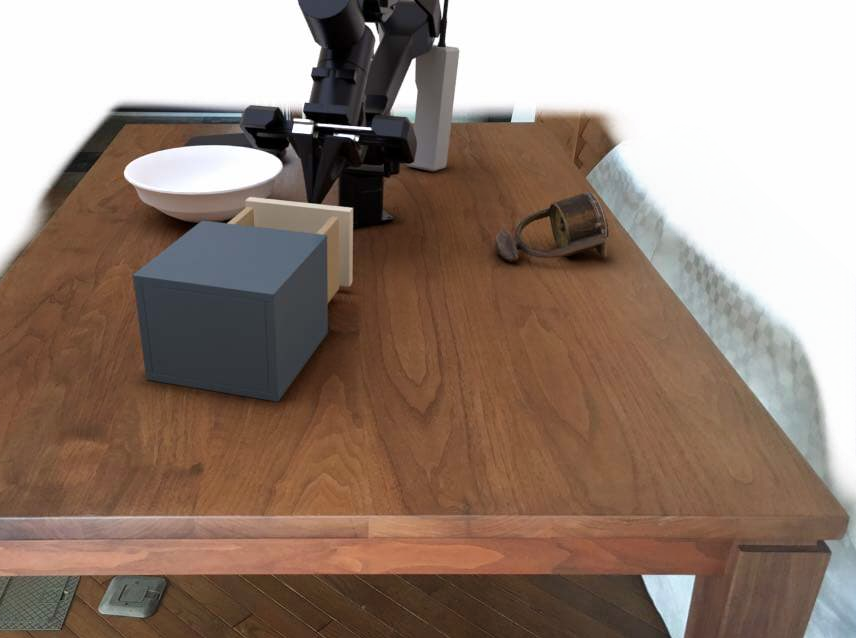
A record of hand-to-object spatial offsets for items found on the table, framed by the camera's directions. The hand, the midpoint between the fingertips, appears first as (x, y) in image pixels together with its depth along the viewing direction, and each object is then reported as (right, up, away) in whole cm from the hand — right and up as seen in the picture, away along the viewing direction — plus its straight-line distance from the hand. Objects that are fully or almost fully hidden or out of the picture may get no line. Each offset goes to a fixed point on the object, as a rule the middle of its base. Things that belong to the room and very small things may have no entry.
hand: (312, 207), depth 96 cm
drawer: (-2, -9, -3) cm, 10 cm away
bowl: (-14, +3, +20) cm, 24 cm away
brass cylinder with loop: (+28, -4, +9) cm, 29 cm away
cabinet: (-6, -16, -12) cm, 22 cm away
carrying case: (-12, +16, +40) cm, 45 cm away
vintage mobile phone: (+16, +14, +37) cm, 42 cm away
